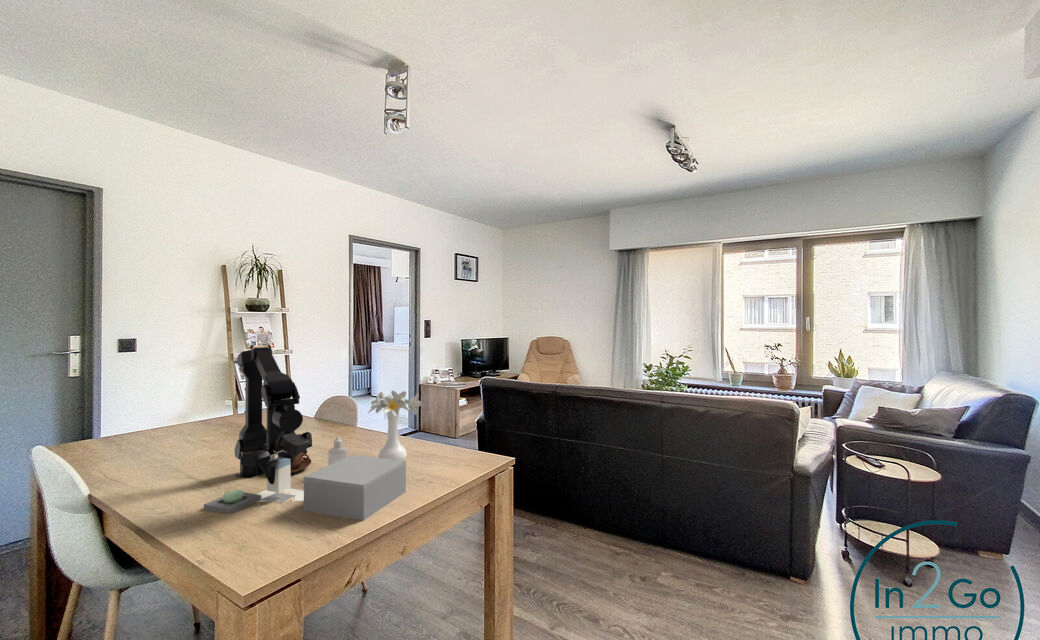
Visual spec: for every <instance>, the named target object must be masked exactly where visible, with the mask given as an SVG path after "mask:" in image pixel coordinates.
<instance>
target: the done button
mask: <svg viewBox="0 0 1040 640" xmlns="http://www.w3.org/2000/svg"><path fill="white" fill-rule="evenodd" d="M243 492H244V490H239V489H237V490H230V491H227V492H225V493H224V494H222V497H223V502H224V503H225V504H234V503H237V502H239V501H241V500H242V499H243Z"/></svg>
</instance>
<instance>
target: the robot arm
mask: <svg viewBox="0 0 1040 640" xmlns="http://www.w3.org/2000/svg"><path fill="white" fill-rule="evenodd" d="M272 350H273V349H272V347H269V346H262V347H261V346H258V347H257V346H255V347H254V348H251V349H248V350H244V351H241V352H239V354H238V355H237V357H236V360H237V361H236V362H237V366H238V367H239V372H240V373H241V374H242V375H243V377H244V379H245V393H244V394H245V399H244V400H245V401H244V402H245V404H244V405H245V410H244V411H245V413H244V416H245V418H244V420H245V424H244V425H243V427H242V428H241V430H240V431H239V435H238V439H237V440H236V441H237V442H236V443H235V446H234V457H235V458H236V459H238V460H239V472H238V473H236V474H235V477H238V478H245V479H253V478H255V477H258V476H261V475H264V476H265V478H266V480H267V479H268V481H269V483H270V484H274V480H275V465H276V464H277V462H278V461H279V460H275V458H276V455H278V454H279V457H283V458H290V459H291V466H292V463H293V461H294V459H295V457H296V456H298V455H299V454H300V453H302V452H305V451H306V448H307V449H309V448H311V447H313V438H312V437H313V436H312V433H311V432H309V431H306V432H303V433H296V432H295V431H297V430H298V429H299V428H300V427H301V425H302V424H303V420H304V418H303V414H302V412H301V411H299V410H298V409H296V407H295V406H296V405H299V404H300V399H301V397H300V393H299V391H298V387H297V386H296V383H295V382H294V381H293V379H292V378H291V377H290V376H289V374H286V373H283V372H282V371H281V369H280V368H279V364H278V363H277V361H276V359H275V357H274V356H273V351H272ZM263 402H264V404H265V407H266V427H265V426H264V424H263Z"/></svg>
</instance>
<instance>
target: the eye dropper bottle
mask: <svg viewBox="0 0 1040 640" xmlns="http://www.w3.org/2000/svg"><path fill="white" fill-rule="evenodd" d="M333 444H334V445H333V447H332V448H331V449H329V450H328V465H331V464H333V463H335V462H337V461H340V460H342V459H344V458H346V457H348V456H349V455H348V454H349V453H348V452H349V451H348V450H349V449H348V448H346V447H345V446H344V447H343V440H342V439H341V438H340V435H337V436H336V439H335V440H333Z"/></svg>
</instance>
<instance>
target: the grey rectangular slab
mask: <svg viewBox="0 0 1040 640" xmlns="http://www.w3.org/2000/svg"><path fill="white" fill-rule="evenodd" d="M303 491H304V501H303V511H305V512H311V513H315V514H316V513H317V514H324V515H330V516H333V517H340V518H348V519H353V520H360V521H365V520H367V519H368V518H370V517H371V516H373V515H374V514H376V513H377V512H379V511H380V510H382V509H383V508H385V507H386V506H387V505H389V504H390V503H392V502H393V501H395V500H396V499H398V498H399V497H401V496H402V495H404V494H405V493H406V492H407V462H406V460H404V461H401V460H392V459H384V458H378V457H374V456H373V457H372V456H366V455H365V456H364V455H357V454H356V455H355V454H351V455H348V457H346V458H344V459H342V460H340V461H337V462H335V463H333V464H331V465H329V464H328V465H327V466H324V467H322V468H320V469H318V470H315V471H313V472H311V473H309V474H306V475H304V476H303Z"/></svg>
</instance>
